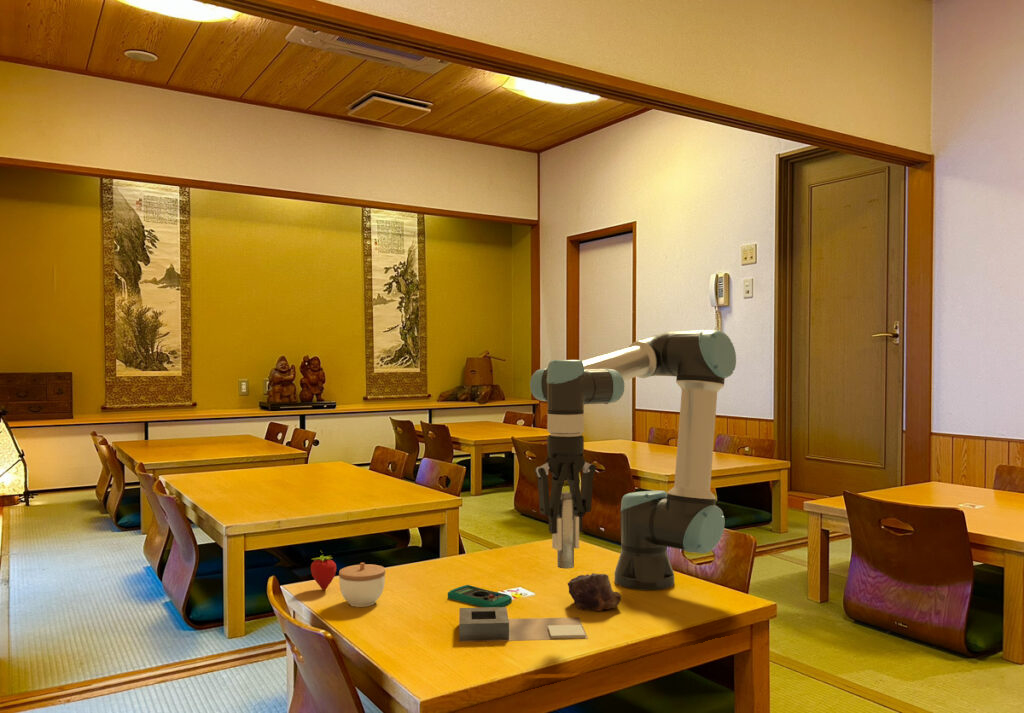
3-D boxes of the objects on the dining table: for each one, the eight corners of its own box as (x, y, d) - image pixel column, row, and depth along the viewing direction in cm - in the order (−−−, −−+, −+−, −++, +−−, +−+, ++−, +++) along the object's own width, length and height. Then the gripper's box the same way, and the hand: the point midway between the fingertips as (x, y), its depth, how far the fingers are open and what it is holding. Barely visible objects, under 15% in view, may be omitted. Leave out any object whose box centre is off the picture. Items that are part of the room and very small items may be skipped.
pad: (580, 627, 162) (580, 624, 162) (585, 637, 156) (585, 634, 156) (547, 628, 161) (547, 625, 161) (551, 638, 155) (551, 635, 155)
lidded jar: (394, 602, 181) (394, 562, 181) (356, 613, 173) (356, 571, 173) (367, 593, 188) (367, 555, 188) (329, 603, 180) (329, 563, 180)
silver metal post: (576, 567, 158) (576, 493, 158) (562, 569, 156) (561, 494, 156) (569, 563, 161) (568, 490, 161) (554, 565, 159) (554, 491, 159)
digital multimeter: (494, 615, 173) (494, 602, 173) (446, 602, 182) (446, 589, 182) (514, 607, 179) (514, 594, 179) (466, 595, 188) (466, 583, 188)
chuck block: (506, 622, 165) (506, 607, 165) (509, 639, 155) (509, 622, 155) (459, 624, 164) (459, 608, 164) (459, 640, 154) (459, 623, 154)
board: (578, 620, 168) (578, 617, 168) (588, 641, 155) (588, 638, 155) (459, 622, 166) (459, 620, 166) (459, 644, 154) (459, 641, 154)
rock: (587, 605, 182) (559, 614, 175) (583, 568, 183) (555, 575, 176) (627, 608, 174) (598, 618, 167) (622, 570, 175) (594, 577, 168)
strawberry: (319, 595, 186) (319, 554, 186) (305, 589, 192) (305, 548, 192) (341, 591, 190) (341, 550, 190) (327, 584, 196) (327, 545, 196)
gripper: (591, 431, 165) (591, 540, 165) (521, 434, 159) (521, 547, 159) (609, 434, 158) (609, 548, 158) (537, 437, 152) (537, 556, 152)
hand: (565, 547), depth 158 cm, fingers closed on silver metal post, 3 cm apart
